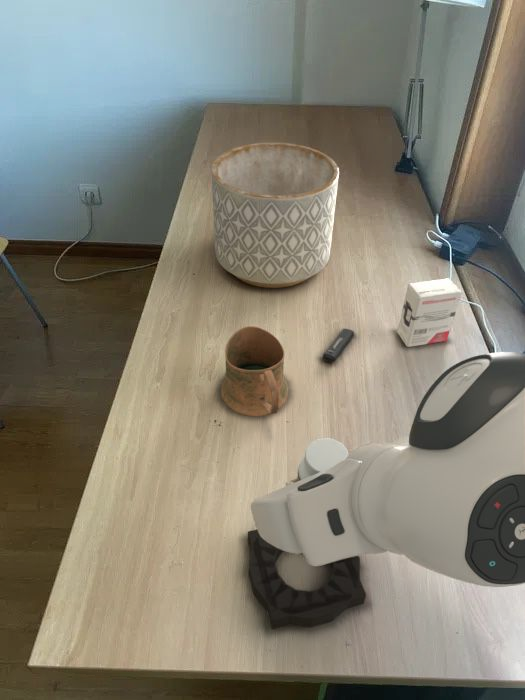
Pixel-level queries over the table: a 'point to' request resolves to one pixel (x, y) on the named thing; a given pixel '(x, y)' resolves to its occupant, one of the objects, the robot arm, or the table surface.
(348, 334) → the usb stick
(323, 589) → the base pad
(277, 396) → the mug
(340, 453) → the pill bottle
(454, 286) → the ink box
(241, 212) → the planter
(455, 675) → the table surface
